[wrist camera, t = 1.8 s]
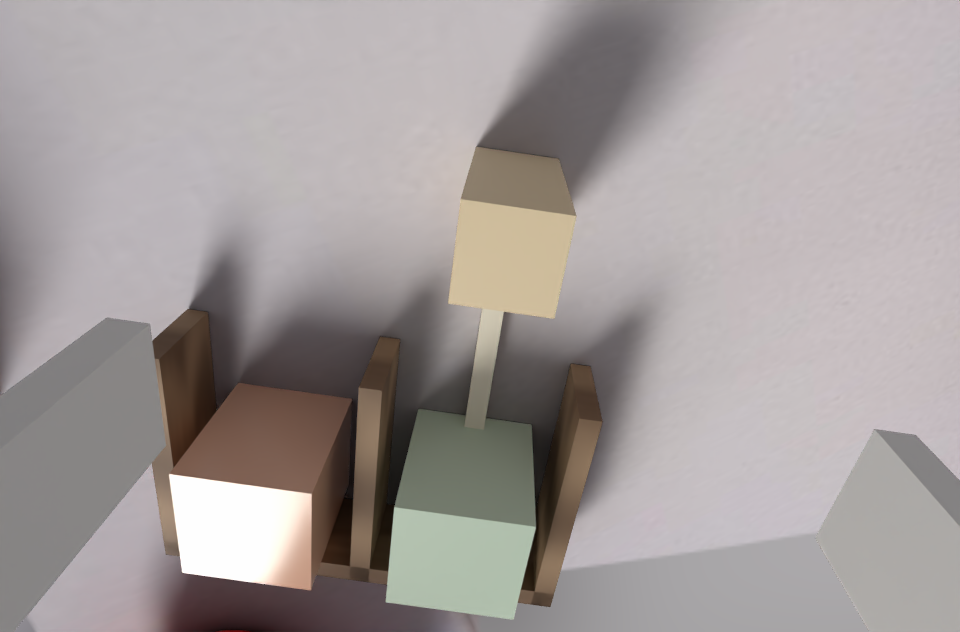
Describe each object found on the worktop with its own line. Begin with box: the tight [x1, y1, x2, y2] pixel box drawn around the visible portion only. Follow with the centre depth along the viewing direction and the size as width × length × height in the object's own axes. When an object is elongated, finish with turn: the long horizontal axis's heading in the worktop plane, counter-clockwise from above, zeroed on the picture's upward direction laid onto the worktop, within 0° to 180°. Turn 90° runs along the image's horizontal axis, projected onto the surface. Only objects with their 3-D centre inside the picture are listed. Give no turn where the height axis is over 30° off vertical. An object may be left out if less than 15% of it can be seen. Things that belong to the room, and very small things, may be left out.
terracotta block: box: [169, 383, 352, 590], centre depth 29 cm, size 6×6×7 cm
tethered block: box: [386, 147, 576, 620], centre depth 26 cm, size 20×6×8 cm, turn 172°
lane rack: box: [152, 309, 603, 607], centre depth 30 cm, size 12×20×4 cm, turn 82°
